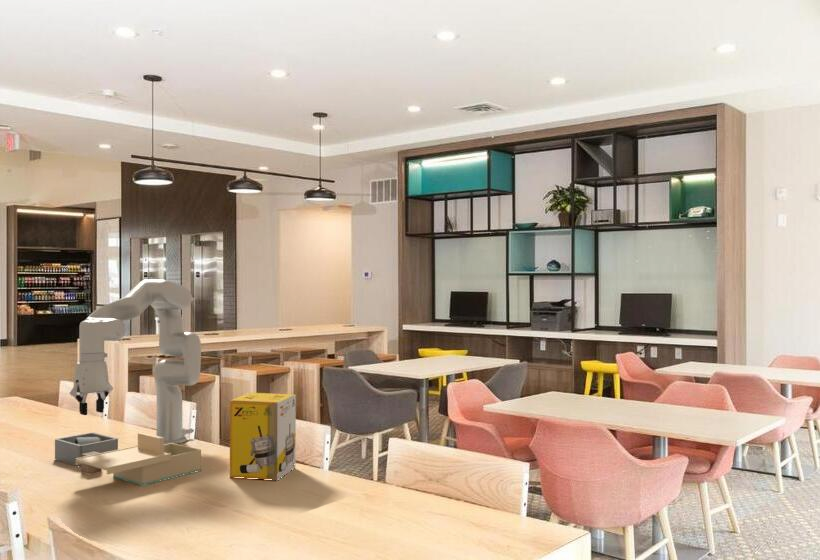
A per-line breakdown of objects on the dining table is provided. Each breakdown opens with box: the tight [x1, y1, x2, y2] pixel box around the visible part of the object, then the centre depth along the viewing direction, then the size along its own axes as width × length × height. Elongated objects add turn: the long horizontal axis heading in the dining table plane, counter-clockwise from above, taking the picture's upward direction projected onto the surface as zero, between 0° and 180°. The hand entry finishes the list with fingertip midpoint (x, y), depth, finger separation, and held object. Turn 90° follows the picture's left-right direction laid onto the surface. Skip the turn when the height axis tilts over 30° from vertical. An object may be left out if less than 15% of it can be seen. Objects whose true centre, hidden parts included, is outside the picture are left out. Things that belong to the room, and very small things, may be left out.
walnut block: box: [80, 451, 103, 475], centre depth 250 cm, size 4×4×6 cm
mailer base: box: [112, 443, 202, 486], centre depth 249 cm, size 22×16×7 cm
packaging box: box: [229, 392, 297, 480], centre depth 250 cm, size 16×16×25 cm
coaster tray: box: [54, 432, 119, 467], centre depth 267 cm, size 14×16×7 cm
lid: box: [76, 432, 171, 475], centre depth 239 cm, size 22×18×7 cm
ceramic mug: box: [74, 437, 101, 445], centre depth 269 cm, size 11×8×8 cm
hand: (91, 412), depth 250 cm, fingers open, 4 cm apart
